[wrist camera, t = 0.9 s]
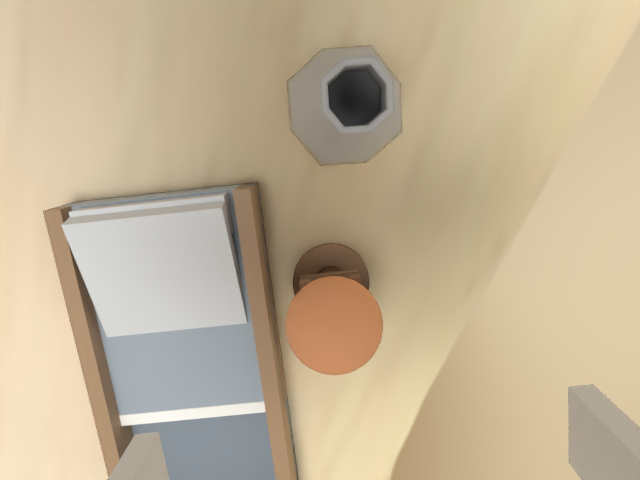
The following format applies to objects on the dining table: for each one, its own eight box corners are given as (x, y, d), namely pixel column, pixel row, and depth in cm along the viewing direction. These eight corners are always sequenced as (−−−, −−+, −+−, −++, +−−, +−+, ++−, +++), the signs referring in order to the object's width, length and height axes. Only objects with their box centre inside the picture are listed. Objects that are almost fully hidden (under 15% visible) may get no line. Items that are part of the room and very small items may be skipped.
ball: (283, 269, 26) (275, 301, 21) (372, 259, 26) (385, 290, 21) (294, 351, 27) (288, 399, 22) (380, 342, 27) (393, 389, 22)
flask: (419, 140, 29) (469, 145, 20) (313, 183, 30) (309, 209, 20) (378, 24, 28) (410, -32, 18) (267, 73, 28) (240, 44, 19)
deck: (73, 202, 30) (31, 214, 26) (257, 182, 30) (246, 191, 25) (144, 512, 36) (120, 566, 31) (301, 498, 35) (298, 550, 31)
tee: (289, 247, 31) (283, 270, 26) (364, 239, 31) (373, 261, 26) (298, 318, 32) (294, 353, 27) (371, 310, 32) (380, 344, 27)
